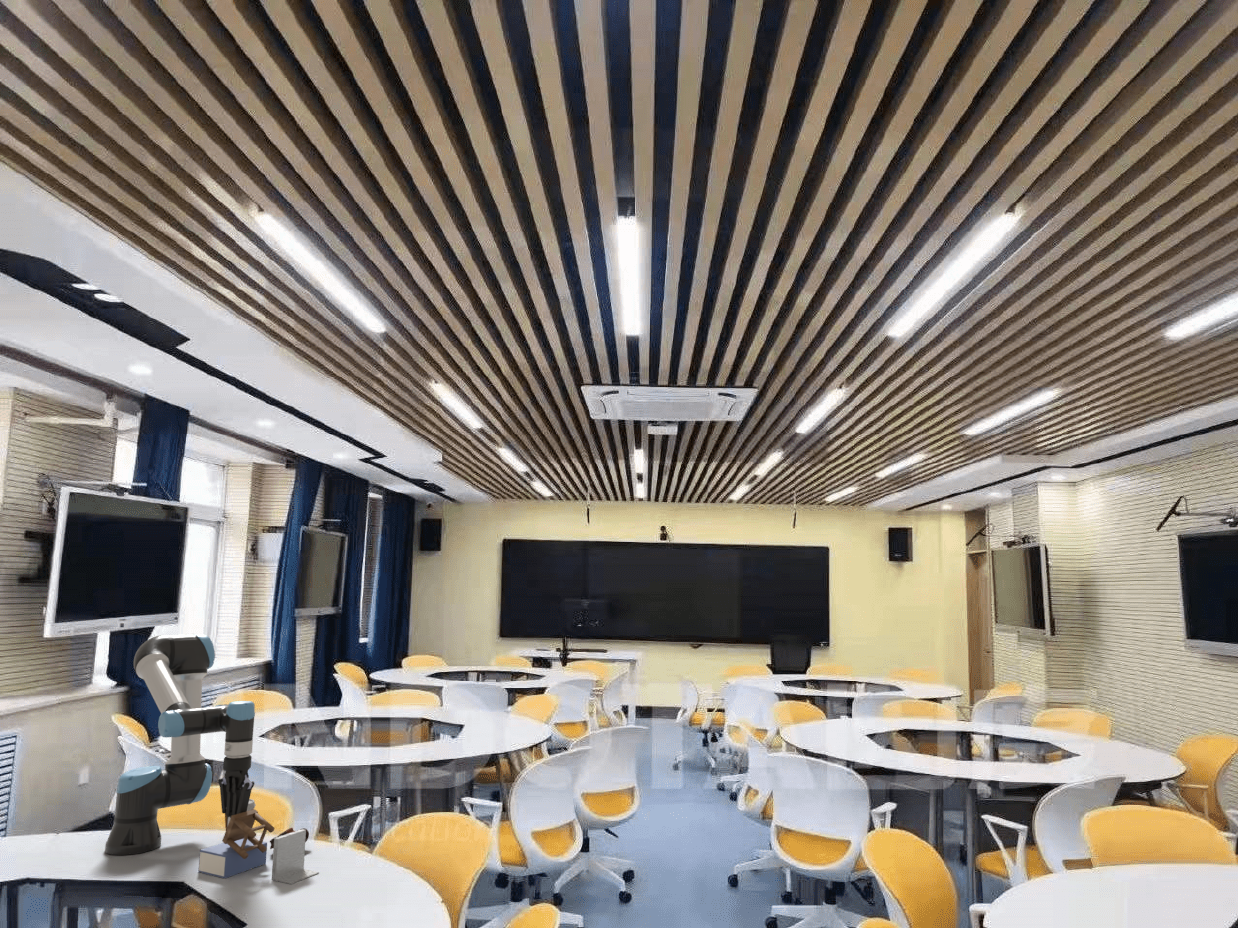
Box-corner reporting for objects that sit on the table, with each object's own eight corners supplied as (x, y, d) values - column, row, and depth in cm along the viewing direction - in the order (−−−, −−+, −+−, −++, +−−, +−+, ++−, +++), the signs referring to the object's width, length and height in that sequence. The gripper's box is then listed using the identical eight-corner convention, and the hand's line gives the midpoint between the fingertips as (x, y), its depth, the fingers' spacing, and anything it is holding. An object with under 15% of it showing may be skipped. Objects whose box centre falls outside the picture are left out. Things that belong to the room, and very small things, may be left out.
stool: (222, 840, 241) (231, 815, 240) (245, 833, 248) (254, 808, 247) (242, 859, 236) (252, 833, 236) (265, 851, 243) (275, 826, 243)
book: (198, 871, 239) (199, 849, 240) (240, 858, 252) (241, 836, 252) (224, 878, 234) (225, 855, 235) (265, 863, 247) (267, 842, 248)
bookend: (271, 879, 234) (274, 837, 235) (299, 869, 242) (302, 829, 244) (290, 884, 230) (293, 841, 232) (318, 873, 239) (321, 832, 241)
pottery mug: (289, 861, 250) (277, 836, 252) (272, 870, 255) (260, 845, 256) (320, 840, 261) (308, 816, 262) (303, 849, 265) (292, 825, 267)
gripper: (211, 755, 248) (205, 840, 244) (242, 759, 242) (236, 846, 238) (233, 751, 254) (228, 833, 251) (263, 755, 248) (258, 839, 245)
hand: (232, 839), depth 244 cm, fingers closed
